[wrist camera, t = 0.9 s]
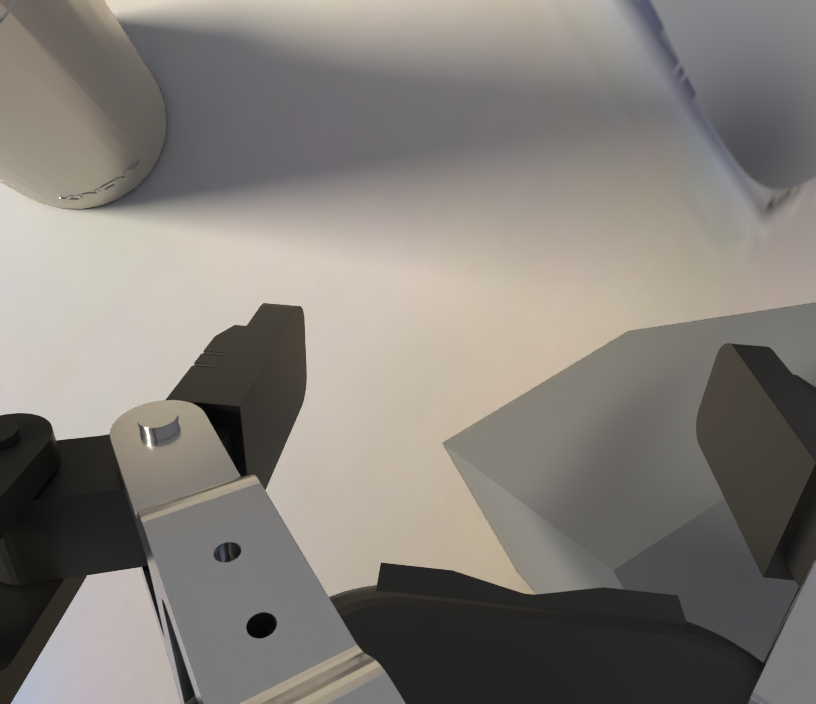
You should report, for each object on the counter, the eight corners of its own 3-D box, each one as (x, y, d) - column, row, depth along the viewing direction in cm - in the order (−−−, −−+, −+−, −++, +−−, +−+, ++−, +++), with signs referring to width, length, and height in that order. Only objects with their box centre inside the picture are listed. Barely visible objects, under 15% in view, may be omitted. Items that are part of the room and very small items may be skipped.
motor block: (442, 443, 34) (613, 570, 12) (628, 330, 35) (1093, 260, 13) (517, 571, 34) (820, 930, 12) (699, 455, 35) (1278, 592, 13)
